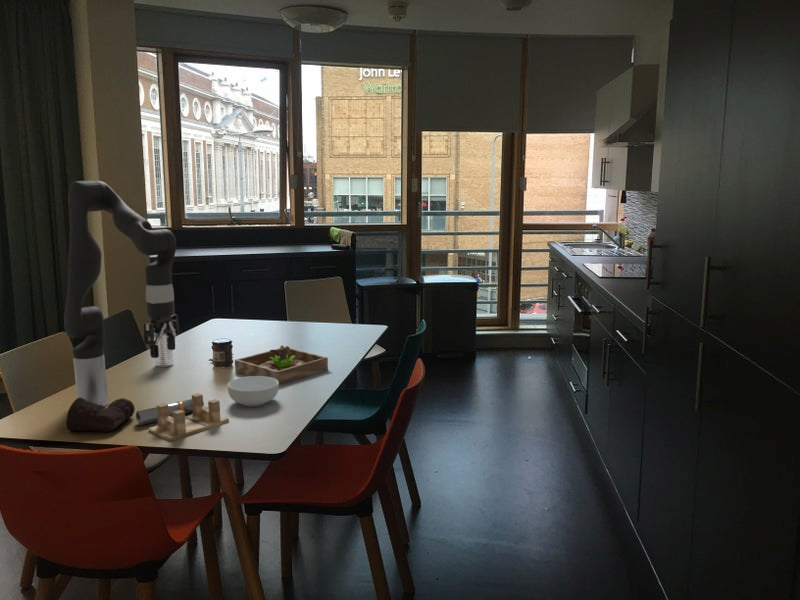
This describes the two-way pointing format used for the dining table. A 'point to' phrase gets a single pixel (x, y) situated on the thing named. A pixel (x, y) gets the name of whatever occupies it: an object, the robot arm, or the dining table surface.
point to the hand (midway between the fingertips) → (163, 353)
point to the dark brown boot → (98, 415)
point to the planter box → (312, 366)
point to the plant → (281, 360)
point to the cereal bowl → (253, 390)
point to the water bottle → (164, 353)
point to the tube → (151, 414)
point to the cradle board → (188, 419)
